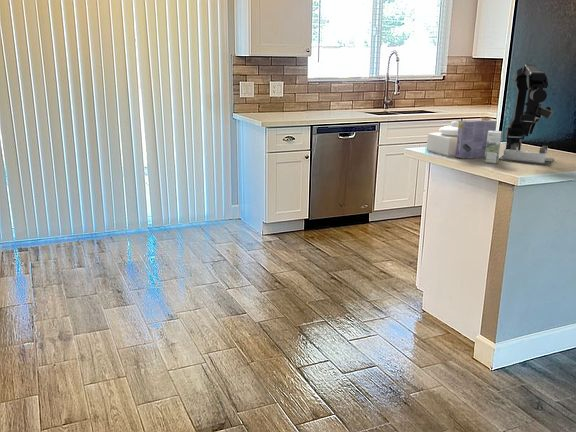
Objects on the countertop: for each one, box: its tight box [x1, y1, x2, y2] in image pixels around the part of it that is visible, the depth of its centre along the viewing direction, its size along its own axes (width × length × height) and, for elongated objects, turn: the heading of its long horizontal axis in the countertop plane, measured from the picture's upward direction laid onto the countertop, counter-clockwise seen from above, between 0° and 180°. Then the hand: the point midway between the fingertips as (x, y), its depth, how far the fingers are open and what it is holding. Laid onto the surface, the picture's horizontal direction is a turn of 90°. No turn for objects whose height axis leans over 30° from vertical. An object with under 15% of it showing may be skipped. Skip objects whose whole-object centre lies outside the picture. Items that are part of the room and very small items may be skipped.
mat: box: [498, 156, 552, 166], centre depth 258 cm, size 22×7×1 cm, turn 57°
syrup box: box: [483, 130, 503, 165], centre depth 253 cm, size 6×6×14 cm
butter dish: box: [426, 120, 459, 157], centre depth 279 cm, size 18×18×16 cm
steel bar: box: [502, 148, 548, 163], centre depth 258 cm, size 18×4×4 cm, turn 57°
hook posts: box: [501, 143, 555, 163], centre depth 264 cm, size 22×8×6 cm, turn 57°
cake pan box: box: [454, 120, 497, 159], centre depth 265 cm, size 19×5×18 cm, turn 106°
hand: (528, 135), depth 255 cm, fingers open, 9 cm apart
